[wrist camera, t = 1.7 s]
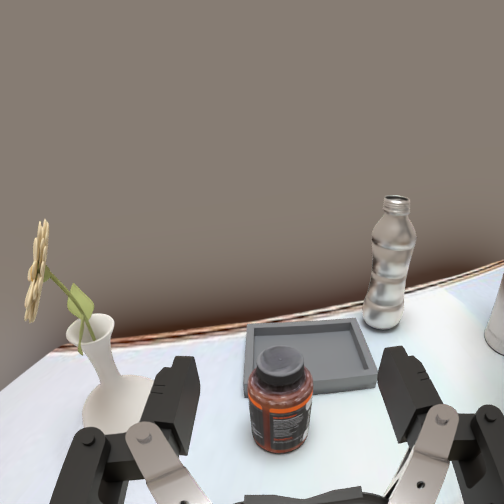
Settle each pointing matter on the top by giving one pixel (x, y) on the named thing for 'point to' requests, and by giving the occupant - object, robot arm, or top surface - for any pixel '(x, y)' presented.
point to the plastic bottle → (389, 264)
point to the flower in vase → (91, 351)
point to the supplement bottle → (280, 399)
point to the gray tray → (318, 352)
